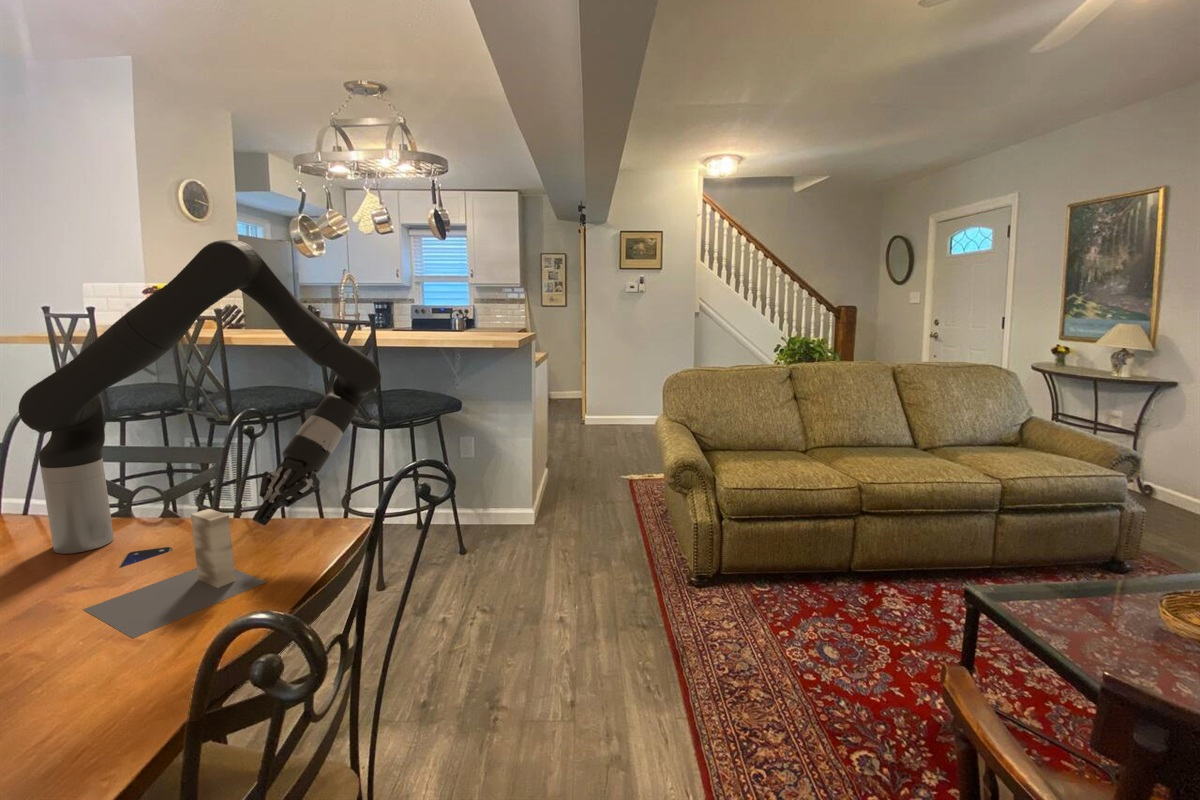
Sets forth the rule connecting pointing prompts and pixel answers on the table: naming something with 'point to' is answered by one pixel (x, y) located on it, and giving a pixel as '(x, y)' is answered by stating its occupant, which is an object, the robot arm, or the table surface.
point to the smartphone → (143, 555)
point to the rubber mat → (166, 602)
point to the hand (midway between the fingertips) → (258, 522)
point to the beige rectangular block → (213, 547)
